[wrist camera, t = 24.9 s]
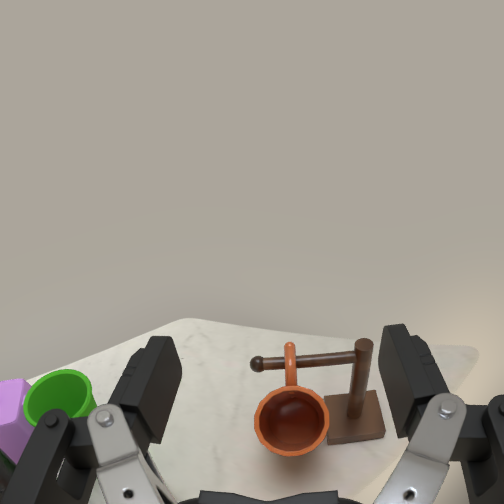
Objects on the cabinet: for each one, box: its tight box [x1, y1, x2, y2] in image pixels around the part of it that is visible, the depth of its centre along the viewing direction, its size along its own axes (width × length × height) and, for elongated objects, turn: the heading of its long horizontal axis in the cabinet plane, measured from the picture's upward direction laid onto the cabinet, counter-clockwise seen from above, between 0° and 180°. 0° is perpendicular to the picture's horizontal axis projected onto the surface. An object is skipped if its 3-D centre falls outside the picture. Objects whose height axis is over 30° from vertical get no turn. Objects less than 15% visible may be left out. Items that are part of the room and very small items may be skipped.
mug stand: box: [250, 338, 386, 445], centre depth 30 cm, size 14×6×12 cm, turn 86°
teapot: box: [0, 379, 35, 464], centre depth 27 cm, size 18×10×10 cm, turn 114°
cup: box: [23, 369, 97, 427], centre depth 28 cm, size 9×9×11 cm
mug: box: [254, 342, 330, 456], centre depth 28 cm, size 10×6×10 cm
